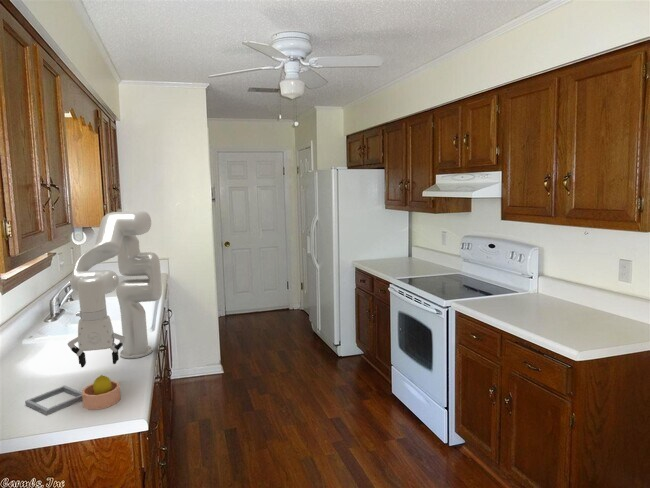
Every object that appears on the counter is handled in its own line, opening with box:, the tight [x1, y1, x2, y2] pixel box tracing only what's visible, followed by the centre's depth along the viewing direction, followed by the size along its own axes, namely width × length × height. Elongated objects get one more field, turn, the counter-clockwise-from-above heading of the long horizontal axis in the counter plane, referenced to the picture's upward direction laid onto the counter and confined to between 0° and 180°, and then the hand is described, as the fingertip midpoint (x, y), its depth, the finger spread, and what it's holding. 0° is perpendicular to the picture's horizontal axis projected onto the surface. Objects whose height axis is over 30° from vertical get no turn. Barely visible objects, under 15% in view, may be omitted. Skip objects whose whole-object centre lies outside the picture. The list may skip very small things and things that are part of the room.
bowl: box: [81, 380, 122, 410], centre depth 157 cm, size 11×11×4 cm
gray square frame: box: [24, 385, 83, 416], centre depth 157 cm, size 13×13×2 cm
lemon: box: [92, 374, 112, 395], centre depth 156 cm, size 6×6×8 cm
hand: (99, 363), depth 156 cm, fingers open, 9 cm apart
